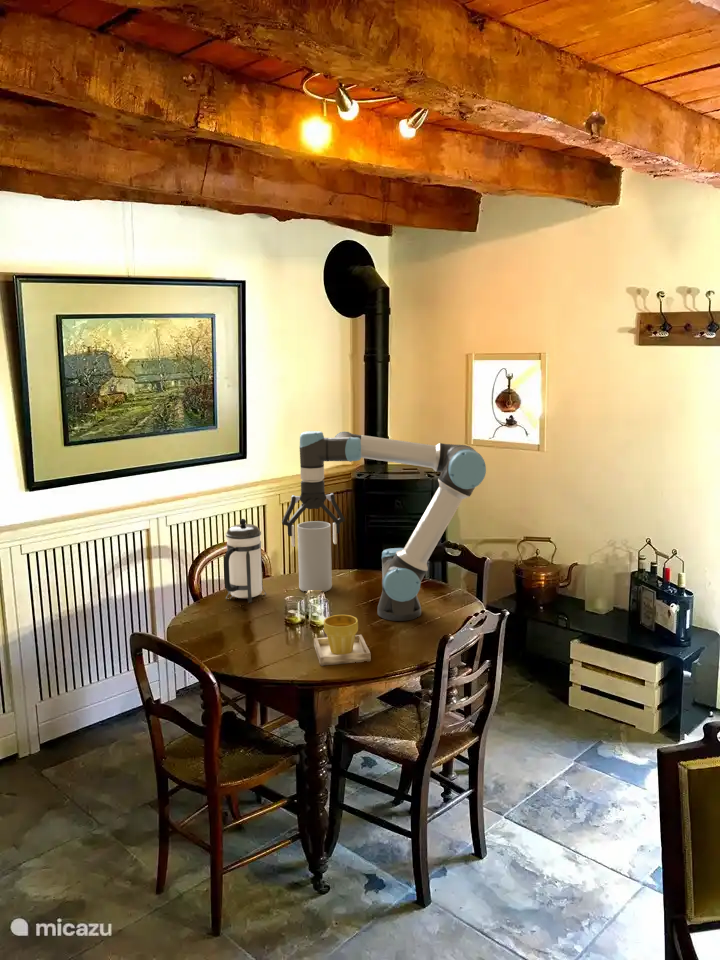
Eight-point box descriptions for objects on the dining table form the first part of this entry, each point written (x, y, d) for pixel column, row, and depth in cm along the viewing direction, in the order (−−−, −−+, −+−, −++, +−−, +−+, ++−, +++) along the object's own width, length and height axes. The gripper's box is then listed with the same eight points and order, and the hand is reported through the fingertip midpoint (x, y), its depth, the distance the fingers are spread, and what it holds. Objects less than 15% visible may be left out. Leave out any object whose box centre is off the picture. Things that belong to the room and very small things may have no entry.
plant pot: (328, 659, 229) (328, 628, 227) (321, 646, 239) (320, 616, 237) (362, 655, 232) (362, 624, 230) (353, 642, 241) (352, 612, 240)
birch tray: (361, 642, 244) (361, 634, 243) (370, 661, 229) (370, 653, 229) (314, 646, 241) (313, 638, 241) (320, 665, 227) (320, 657, 226)
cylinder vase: (331, 582, 304) (330, 520, 299) (332, 593, 292) (330, 528, 287) (299, 583, 303) (297, 521, 299) (299, 594, 291) (297, 529, 286)
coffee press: (220, 593, 293) (217, 516, 287) (262, 589, 297) (260, 513, 292) (226, 608, 276) (222, 526, 271) (270, 603, 281) (267, 523, 275)
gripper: (349, 476, 253) (350, 539, 256) (272, 479, 248) (274, 543, 252) (353, 480, 245) (354, 545, 249) (274, 483, 241) (276, 549, 245)
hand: (314, 544), depth 251 cm, fingers open, 13 cm apart
